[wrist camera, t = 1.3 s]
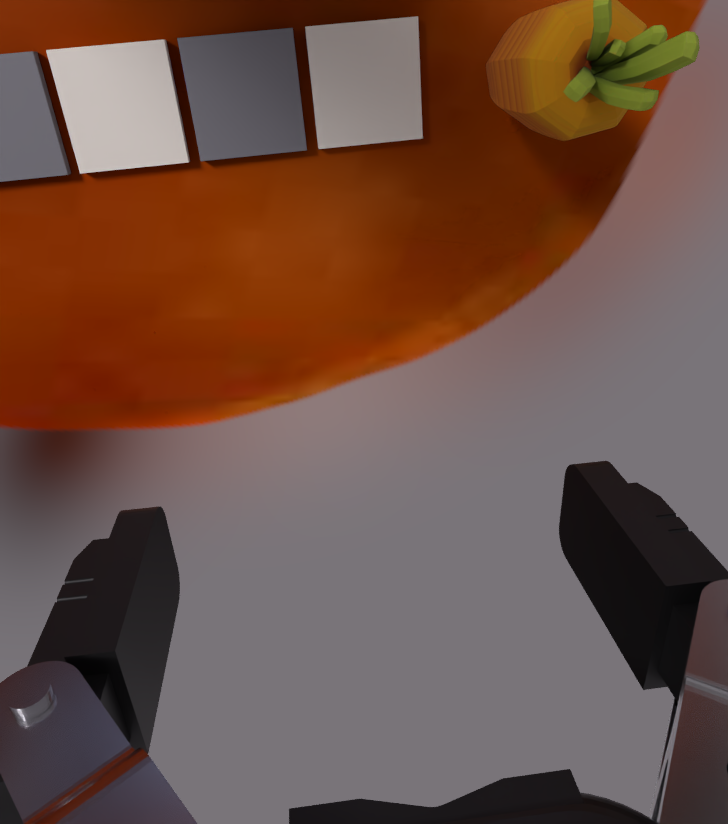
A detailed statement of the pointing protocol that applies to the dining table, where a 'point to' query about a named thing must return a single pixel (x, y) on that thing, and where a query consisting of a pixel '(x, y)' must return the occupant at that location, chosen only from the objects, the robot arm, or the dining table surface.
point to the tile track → (210, 97)
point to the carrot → (582, 66)
